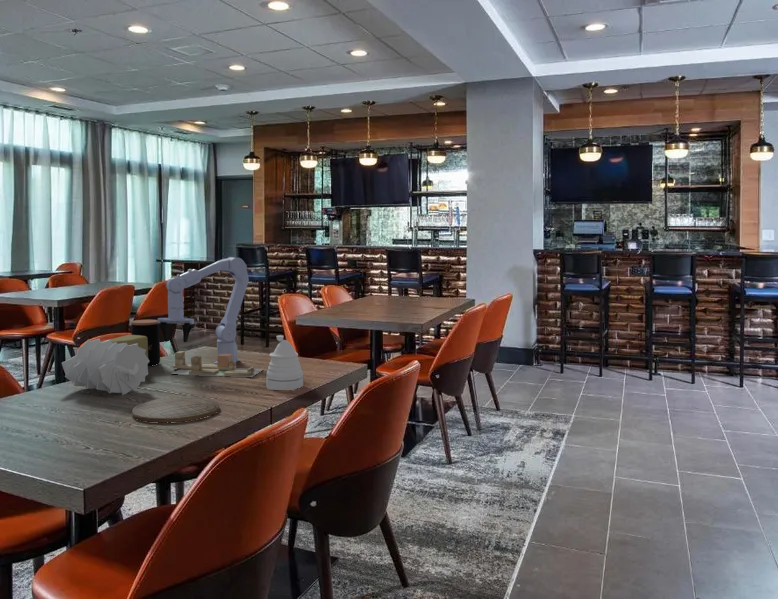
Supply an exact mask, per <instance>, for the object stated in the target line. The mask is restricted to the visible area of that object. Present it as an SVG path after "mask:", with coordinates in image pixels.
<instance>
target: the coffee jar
mask: <svg viewBox="0 0 778 599" xmlns="http://www.w3.org/2000/svg"><path fill="white" fill-rule="evenodd" d="M130 323H131V325H132V326H131V328H130V329H131V330H130V331H131V334H130V335H140V336H146V337H147V340H148V359H149V361H150V362H149V363H148V366H152V365H156V364H158V365H160V362H161V345H160V344H161V342H160V341H161V340H160V339H161V338H160V336H161V335H160V327H159V325H160V323H158V319H136V320H131V321H130ZM152 367H153V366H152Z"/></svg>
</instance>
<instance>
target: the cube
mask: <svg viewBox="0 0 778 599" xmlns="http://www.w3.org/2000/svg"><path fill="white" fill-rule="evenodd" d="M216 357H217V359H216V361H217V364H216V365H217V366H218V367H229V363H231V362H233V354H220V355H218V356H217V355H216Z"/></svg>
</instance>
